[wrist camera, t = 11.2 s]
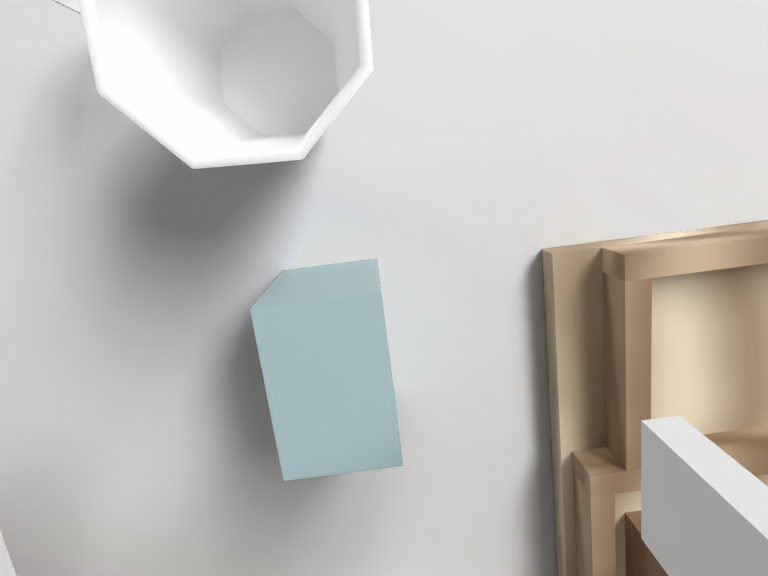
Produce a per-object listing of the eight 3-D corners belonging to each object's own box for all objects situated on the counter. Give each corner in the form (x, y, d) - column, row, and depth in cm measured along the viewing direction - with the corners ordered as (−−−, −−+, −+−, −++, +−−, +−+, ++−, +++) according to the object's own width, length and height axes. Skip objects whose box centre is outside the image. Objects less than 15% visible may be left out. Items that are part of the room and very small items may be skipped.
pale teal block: (305, 399, 22) (283, 480, 16) (283, 270, 21) (249, 309, 15) (393, 387, 22) (402, 465, 16) (376, 258, 21) (380, 292, 15)
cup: (345, 196, 20) (331, 213, 12) (99, 117, 19) (-90, 80, 11) (399, 16, 19) (421, -97, 11) (133, -80, 18) (-56, -281, 10)
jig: (560, 626, 25) (584, 685, 23) (542, 249, 21) (570, 261, 18) (845, 589, 26) (907, 644, 23) (892, 204, 21) (977, 209, 18)
